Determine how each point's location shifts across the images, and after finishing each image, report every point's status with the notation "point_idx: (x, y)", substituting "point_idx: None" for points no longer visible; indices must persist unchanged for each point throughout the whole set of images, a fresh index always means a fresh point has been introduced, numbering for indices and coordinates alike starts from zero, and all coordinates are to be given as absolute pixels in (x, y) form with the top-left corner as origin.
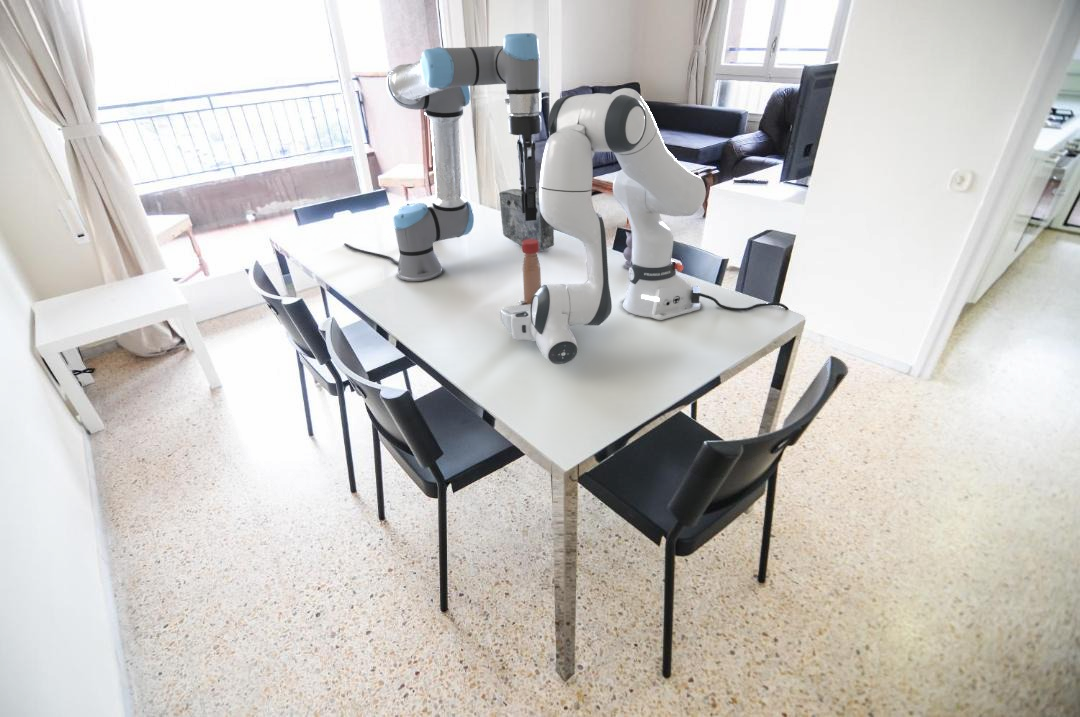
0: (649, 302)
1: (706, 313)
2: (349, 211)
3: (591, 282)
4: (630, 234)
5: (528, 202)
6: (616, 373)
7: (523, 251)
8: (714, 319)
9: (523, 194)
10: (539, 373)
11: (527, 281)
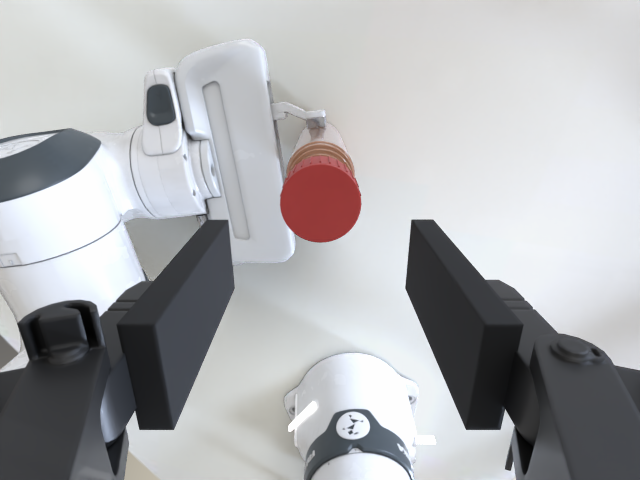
0: (302, 407)
1: (298, 469)
2: None
3: None
4: None
5: (112, 310)
6: None
7: (307, 159)
8: (273, 472)
9: (452, 299)
10: (82, 125)
11: (295, 148)
